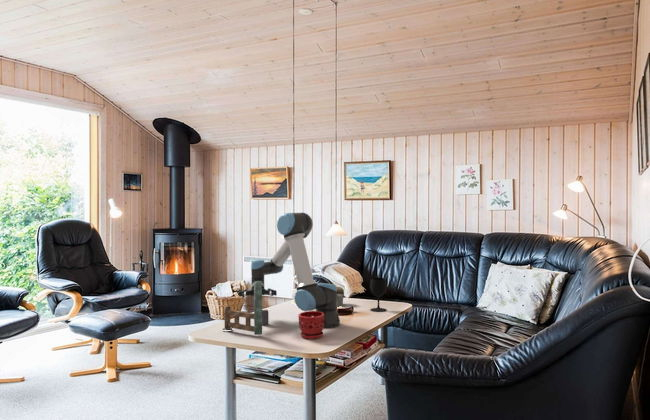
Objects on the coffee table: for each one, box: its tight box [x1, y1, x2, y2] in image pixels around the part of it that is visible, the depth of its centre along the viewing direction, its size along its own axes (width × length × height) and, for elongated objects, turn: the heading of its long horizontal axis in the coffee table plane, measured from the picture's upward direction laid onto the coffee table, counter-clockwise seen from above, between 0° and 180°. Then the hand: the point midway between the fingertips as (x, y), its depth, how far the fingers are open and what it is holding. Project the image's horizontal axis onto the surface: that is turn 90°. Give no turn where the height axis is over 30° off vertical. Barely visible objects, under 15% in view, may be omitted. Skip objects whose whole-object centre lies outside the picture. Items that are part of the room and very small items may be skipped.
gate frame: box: [222, 309, 269, 331], centre depth 283 cm, size 5×27×8 cm, turn 127°
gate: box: [223, 281, 263, 336], centre depth 270 cm, size 26×4×27 cm, turn 55°
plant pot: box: [297, 310, 324, 340], centre depth 262 cm, size 13×13×12 cm
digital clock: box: [337, 294, 344, 307], centre depth 324 cm, size 16×9×11 cm, turn 89°
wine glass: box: [369, 277, 388, 313], centre depth 326 cm, size 10×10×20 cm
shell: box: [336, 286, 345, 298], centre depth 344 cm, size 11×11×12 cm
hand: (257, 296), depth 273 cm, fingers open, 13 cm apart
